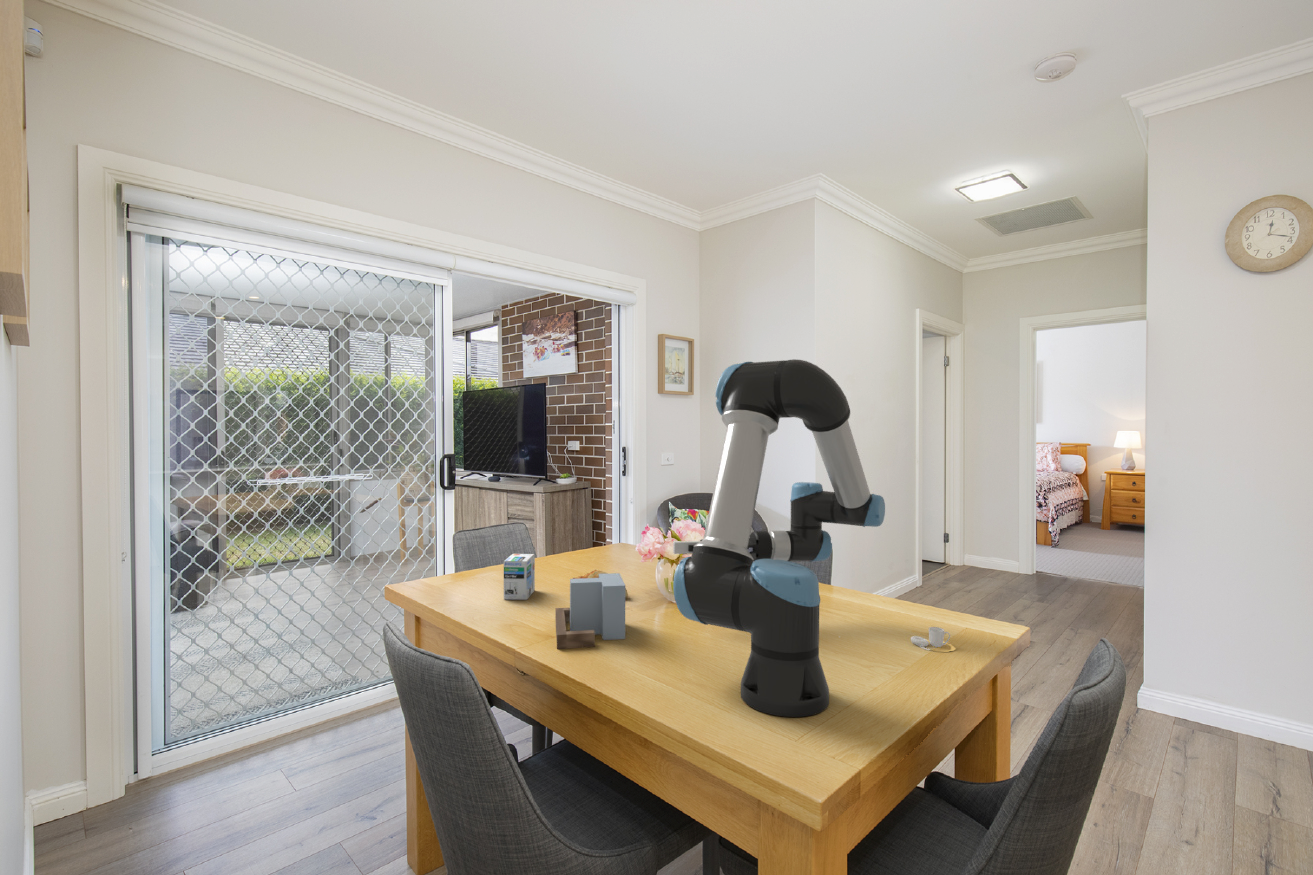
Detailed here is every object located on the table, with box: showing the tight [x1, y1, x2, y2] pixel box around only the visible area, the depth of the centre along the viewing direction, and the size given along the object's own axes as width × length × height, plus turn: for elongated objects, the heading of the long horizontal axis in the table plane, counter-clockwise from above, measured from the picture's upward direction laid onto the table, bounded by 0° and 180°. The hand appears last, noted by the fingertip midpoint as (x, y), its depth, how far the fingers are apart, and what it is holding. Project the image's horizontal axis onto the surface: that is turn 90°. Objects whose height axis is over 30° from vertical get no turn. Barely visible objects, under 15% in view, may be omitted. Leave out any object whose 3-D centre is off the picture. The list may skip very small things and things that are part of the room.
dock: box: [554, 607, 596, 650], centre depth 143 cm, size 8×20×3 cm, turn 10°
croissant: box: [572, 569, 629, 598], centre depth 177 cm, size 21×10×8 cm, turn 53°
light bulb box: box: [503, 553, 536, 601], centre depth 175 cm, size 11×7×11 cm, turn 179°
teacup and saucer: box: [910, 626, 951, 651], centre depth 136 cm, size 9×8×4 cm
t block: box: [569, 572, 626, 641], centre depth 144 cm, size 12×12×12 cm
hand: (673, 547), depth 147 cm, fingers closed
